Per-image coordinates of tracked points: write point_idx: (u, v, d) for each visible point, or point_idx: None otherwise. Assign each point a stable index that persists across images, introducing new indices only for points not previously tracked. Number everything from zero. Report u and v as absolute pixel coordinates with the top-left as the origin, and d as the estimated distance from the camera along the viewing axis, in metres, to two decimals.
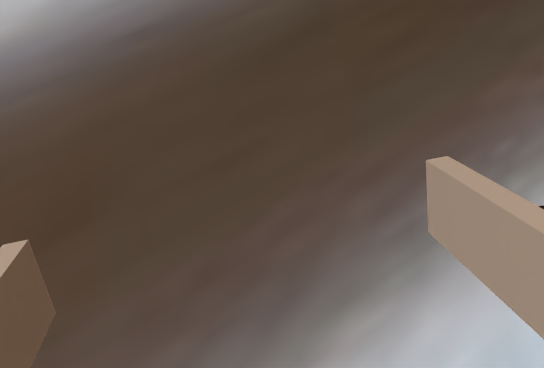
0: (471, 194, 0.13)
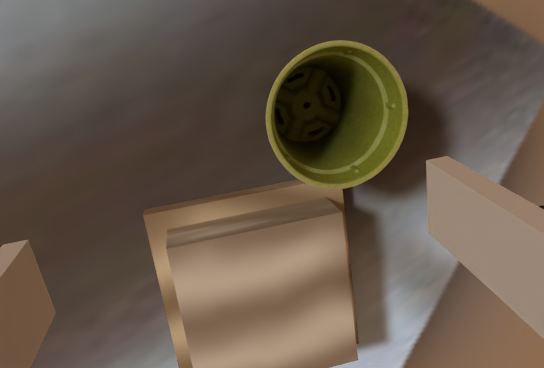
0: (471, 194, 0.13)
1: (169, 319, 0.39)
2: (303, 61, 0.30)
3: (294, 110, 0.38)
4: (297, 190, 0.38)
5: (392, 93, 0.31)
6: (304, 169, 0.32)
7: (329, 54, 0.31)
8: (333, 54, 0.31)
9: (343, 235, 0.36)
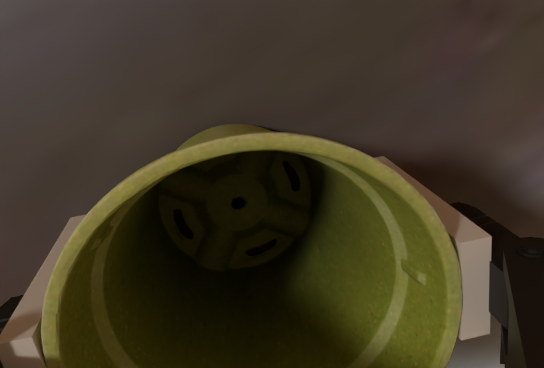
0: None
1: None
2: None
3: (213, 213, 0.18)
4: None
5: (418, 250, 0.12)
6: None
7: None
8: None
9: None
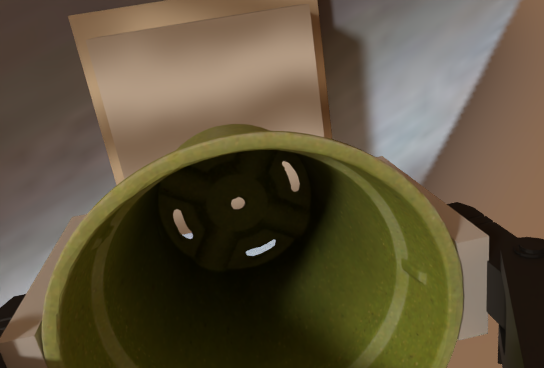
0: None
1: (109, 154, 0.33)
2: None
3: (213, 213, 0.18)
4: None
5: (419, 249, 0.12)
6: None
7: None
8: None
9: (311, 37, 0.28)
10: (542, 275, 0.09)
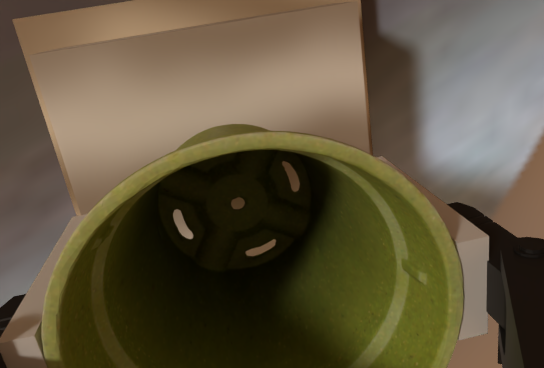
0: None
1: (76, 207, 0.24)
2: None
3: (213, 213, 0.18)
4: None
5: (419, 249, 0.12)
6: None
7: None
8: None
9: (359, 48, 0.20)
10: (542, 275, 0.09)
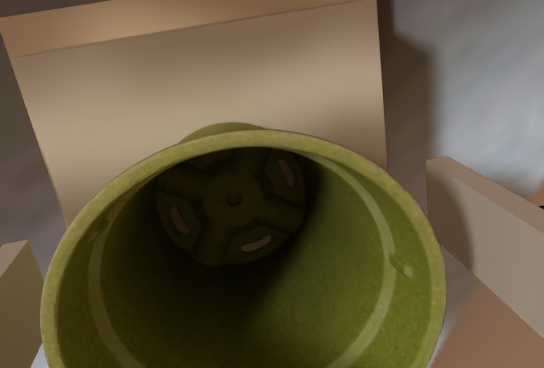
0: (471, 194, 0.13)
1: None
2: None
3: (209, 210, 0.19)
4: None
5: (405, 244, 0.12)
6: None
7: None
8: None
9: (377, 51, 0.18)
10: None
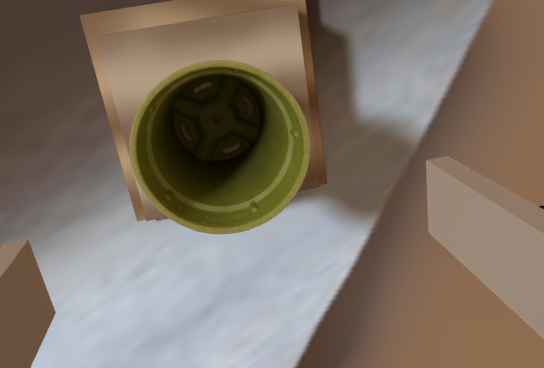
0: (471, 194, 0.13)
1: (116, 141, 0.36)
2: (182, 81, 0.25)
3: (203, 125, 0.32)
4: None
5: (293, 119, 0.26)
6: (192, 207, 0.27)
7: (214, 72, 0.25)
8: (220, 72, 0.25)
9: (299, 33, 0.32)
10: None
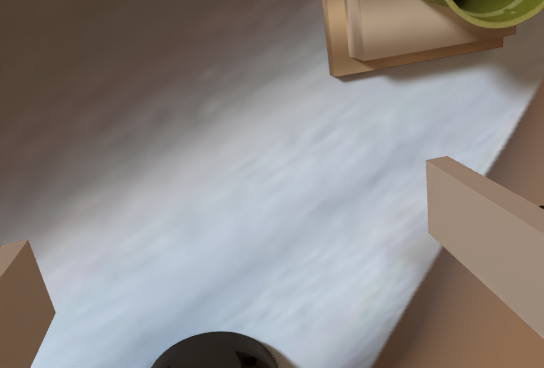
0: (471, 194, 0.13)
1: None
2: None
3: None
4: None
5: None
6: None
7: None
8: None
9: None
10: None
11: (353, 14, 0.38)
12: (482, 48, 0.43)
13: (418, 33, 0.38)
